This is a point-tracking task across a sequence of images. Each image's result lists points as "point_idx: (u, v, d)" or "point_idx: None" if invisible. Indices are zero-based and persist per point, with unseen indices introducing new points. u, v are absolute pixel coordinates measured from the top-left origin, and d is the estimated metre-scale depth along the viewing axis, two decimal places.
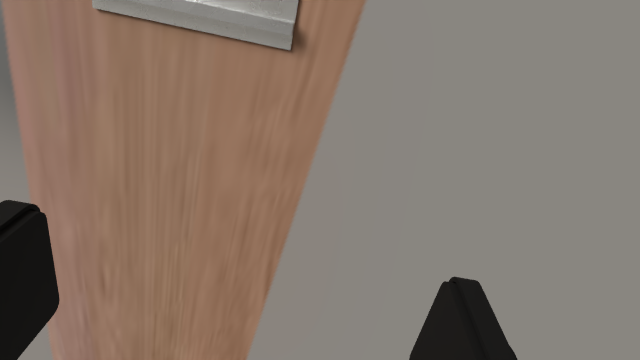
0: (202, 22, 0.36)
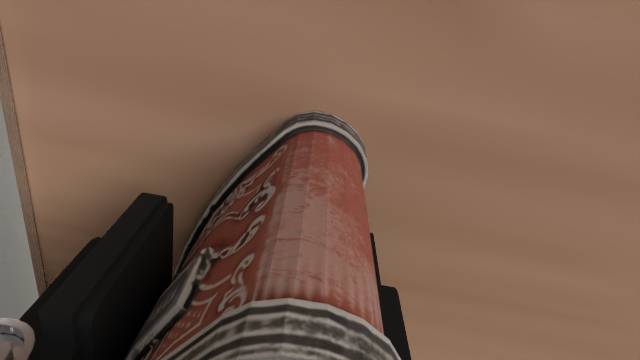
0: None
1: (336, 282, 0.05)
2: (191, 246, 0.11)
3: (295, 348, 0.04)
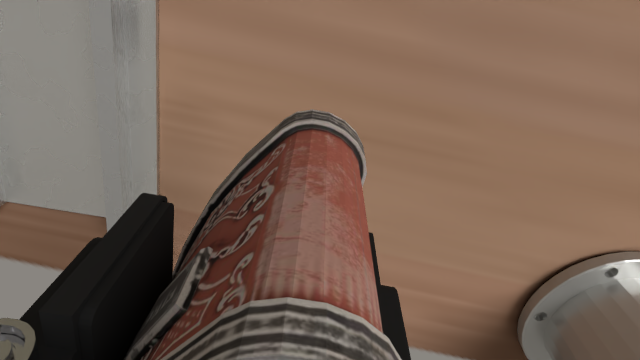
0: None
1: (335, 281, 0.05)
2: (190, 245, 0.11)
3: (295, 347, 0.04)
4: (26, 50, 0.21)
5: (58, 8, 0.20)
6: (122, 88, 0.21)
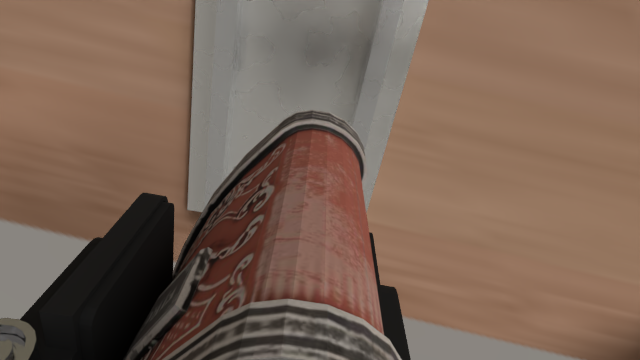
0: (205, 96, 0.23)
1: (336, 282, 0.05)
2: (189, 246, 0.11)
3: (295, 350, 0.04)
4: (285, 80, 0.23)
5: (326, 43, 0.22)
6: None
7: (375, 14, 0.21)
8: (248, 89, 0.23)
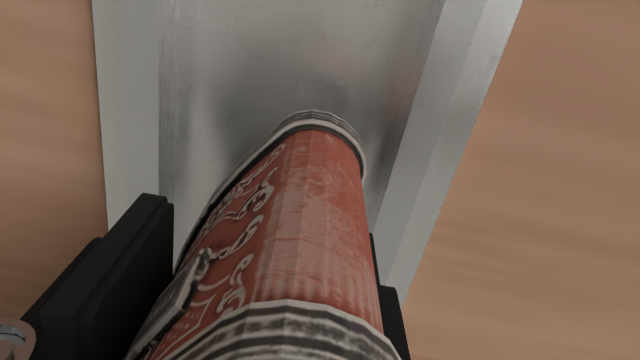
0: (126, 179, 0.14)
1: (336, 282, 0.05)
2: (189, 246, 0.11)
3: (295, 350, 0.04)
4: None
5: (326, 98, 0.12)
6: None
7: (414, 50, 0.12)
8: (196, 169, 0.14)
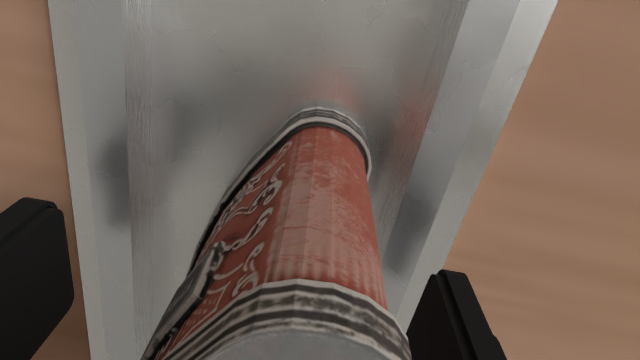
0: None
1: (342, 265, 0.05)
2: (203, 244, 0.12)
3: (304, 322, 0.04)
4: None
5: None
6: None
7: (427, 63, 0.10)
8: (177, 197, 0.12)
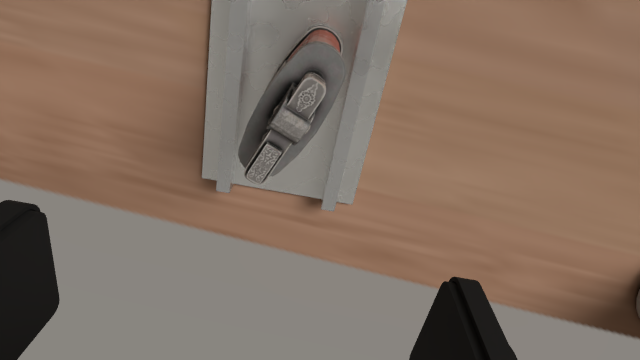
0: (218, 76, 0.27)
1: None
2: None
3: (318, 43, 0.19)
4: None
5: None
6: None
7: (364, 4, 0.25)
8: (256, 69, 0.27)
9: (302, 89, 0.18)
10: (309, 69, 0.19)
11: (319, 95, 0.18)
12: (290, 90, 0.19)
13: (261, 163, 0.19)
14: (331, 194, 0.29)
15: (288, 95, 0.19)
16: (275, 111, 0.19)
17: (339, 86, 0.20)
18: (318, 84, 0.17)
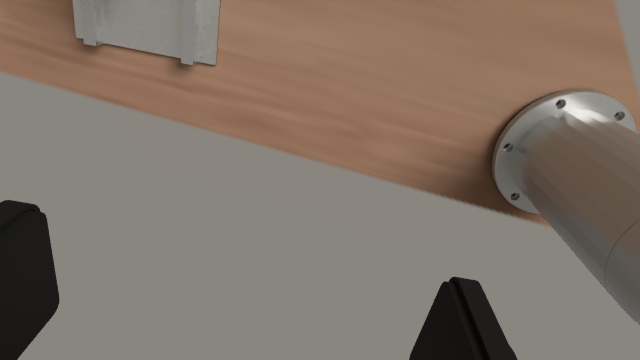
0: None
1: None
2: None
3: None
4: None
5: None
6: None
7: None
8: None
9: None
10: None
11: None
12: None
13: None
14: (187, 46, 0.32)
15: None
16: None
17: None
18: None
